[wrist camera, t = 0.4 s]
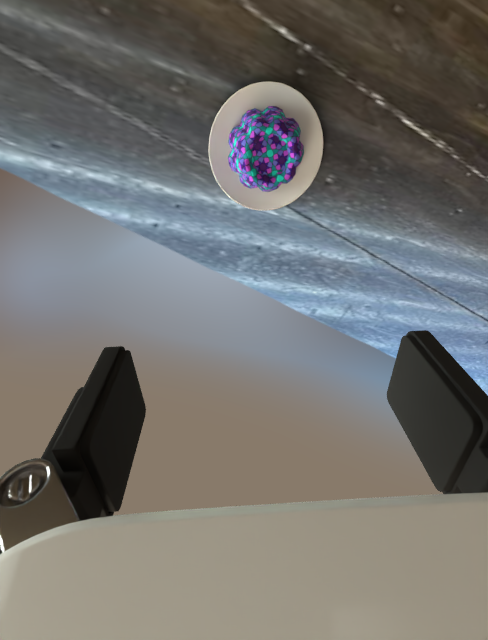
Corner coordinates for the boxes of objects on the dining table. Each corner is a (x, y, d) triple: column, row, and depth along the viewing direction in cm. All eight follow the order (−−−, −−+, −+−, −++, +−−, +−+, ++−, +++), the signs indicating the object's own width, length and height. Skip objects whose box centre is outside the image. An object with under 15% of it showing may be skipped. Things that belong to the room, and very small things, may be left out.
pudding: (191, 107, 33) (185, 106, 28) (309, 62, 31) (322, 54, 27) (230, 222, 39) (230, 236, 35) (330, 189, 38) (343, 200, 33)
